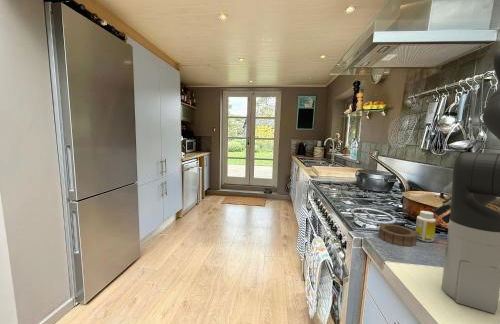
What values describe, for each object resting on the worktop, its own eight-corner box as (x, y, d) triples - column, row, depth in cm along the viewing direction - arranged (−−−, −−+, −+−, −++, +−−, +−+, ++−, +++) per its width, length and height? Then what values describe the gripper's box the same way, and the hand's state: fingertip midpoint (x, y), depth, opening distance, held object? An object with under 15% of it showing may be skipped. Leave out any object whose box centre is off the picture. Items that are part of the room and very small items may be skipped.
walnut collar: (417, 249, 74) (418, 239, 73) (379, 241, 79) (379, 231, 79) (413, 237, 84) (413, 228, 83) (378, 230, 89) (379, 222, 89)
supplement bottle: (435, 239, 82) (438, 213, 81) (431, 244, 78) (434, 215, 77) (417, 234, 86) (419, 209, 85) (412, 238, 83) (415, 211, 82)
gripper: (467, 178, 81) (425, 204, 87) (488, 184, 68) (437, 214, 74) (484, 194, 79) (440, 219, 85) (510, 203, 67) (456, 232, 73)
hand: (439, 217), depth 80 cm, fingers open, 8 cm apart
